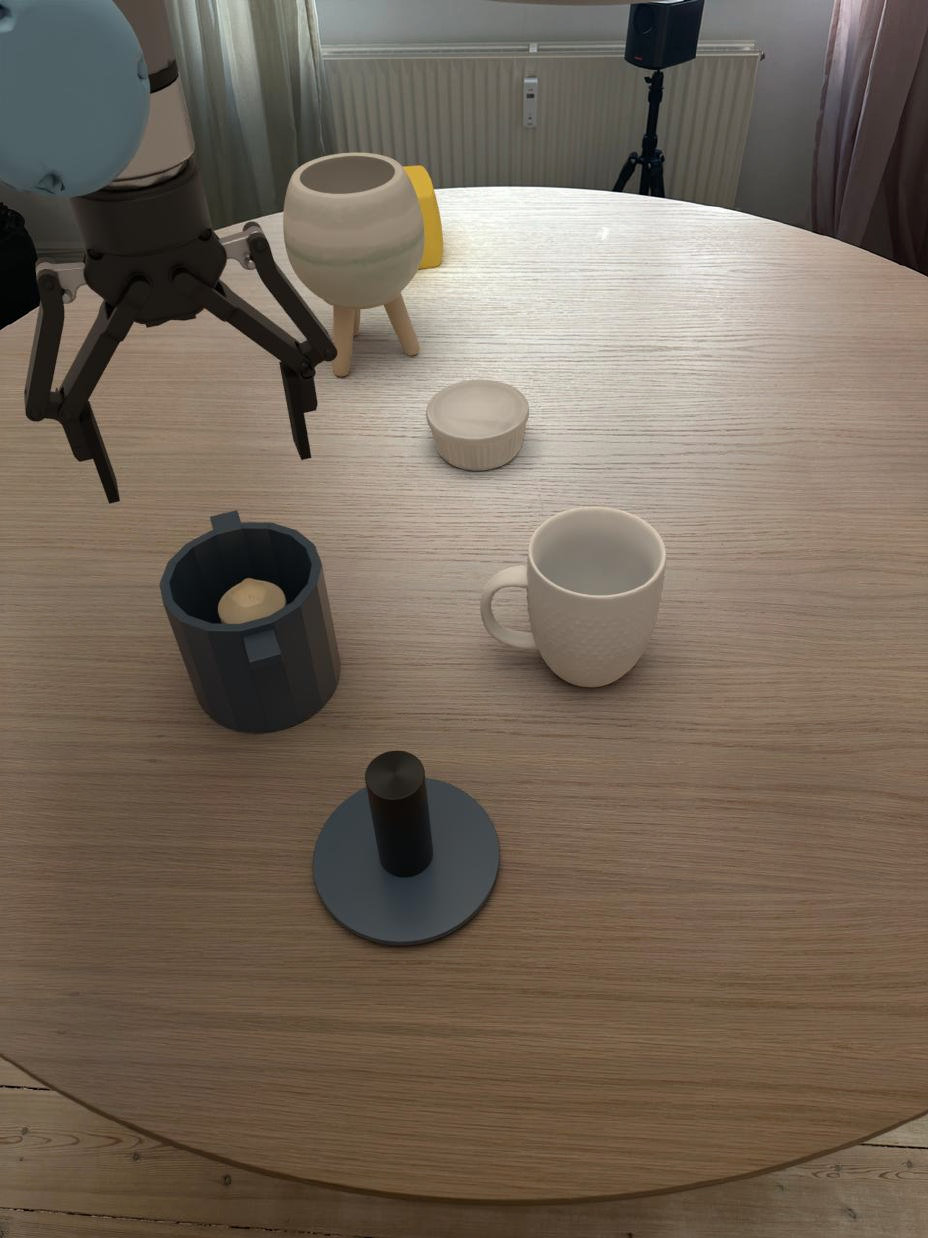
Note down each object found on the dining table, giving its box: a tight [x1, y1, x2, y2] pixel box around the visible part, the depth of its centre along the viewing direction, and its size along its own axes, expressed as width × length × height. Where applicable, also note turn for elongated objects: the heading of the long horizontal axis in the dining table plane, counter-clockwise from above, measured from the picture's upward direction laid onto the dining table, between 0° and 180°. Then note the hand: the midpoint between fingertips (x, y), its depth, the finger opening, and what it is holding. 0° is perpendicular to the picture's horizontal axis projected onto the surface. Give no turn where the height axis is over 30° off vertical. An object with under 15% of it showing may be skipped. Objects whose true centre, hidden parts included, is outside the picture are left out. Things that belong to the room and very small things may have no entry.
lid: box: [312, 749, 501, 946], centre depth 69 cm, size 14×14×11 cm
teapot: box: [402, 164, 444, 270], centre depth 139 cm, size 20×12×12 cm, turn 9°
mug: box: [479, 506, 667, 688], centre depth 82 cm, size 15×11×13 cm
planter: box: [282, 152, 425, 378], centre depth 116 cm, size 16×16×22 cm
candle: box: [218, 578, 287, 624], centre depth 83 cm, size 6×6×10 cm
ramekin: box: [425, 379, 530, 472], centre depth 108 cm, size 11×11×5 cm
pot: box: [159, 510, 341, 734], centre depth 82 cm, size 13×18×12 cm
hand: (209, 470), depth 70 cm, fingers open, 13 cm apart
